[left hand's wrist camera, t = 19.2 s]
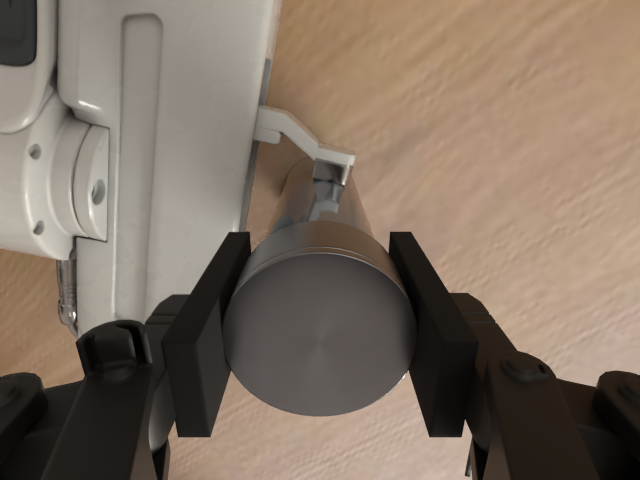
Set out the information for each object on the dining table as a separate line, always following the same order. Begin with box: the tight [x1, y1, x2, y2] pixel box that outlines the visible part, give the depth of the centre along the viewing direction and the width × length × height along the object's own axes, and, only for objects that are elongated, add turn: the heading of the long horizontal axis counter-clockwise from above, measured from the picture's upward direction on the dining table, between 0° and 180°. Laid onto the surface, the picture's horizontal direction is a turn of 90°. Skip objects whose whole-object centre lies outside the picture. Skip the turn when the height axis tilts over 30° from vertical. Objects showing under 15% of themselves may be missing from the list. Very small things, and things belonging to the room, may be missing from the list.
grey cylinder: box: [265, 157, 374, 239], centre depth 18 cm, size 4×4×16 cm
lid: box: [222, 221, 418, 416], centre depth 11 cm, size 5×5×2 cm
